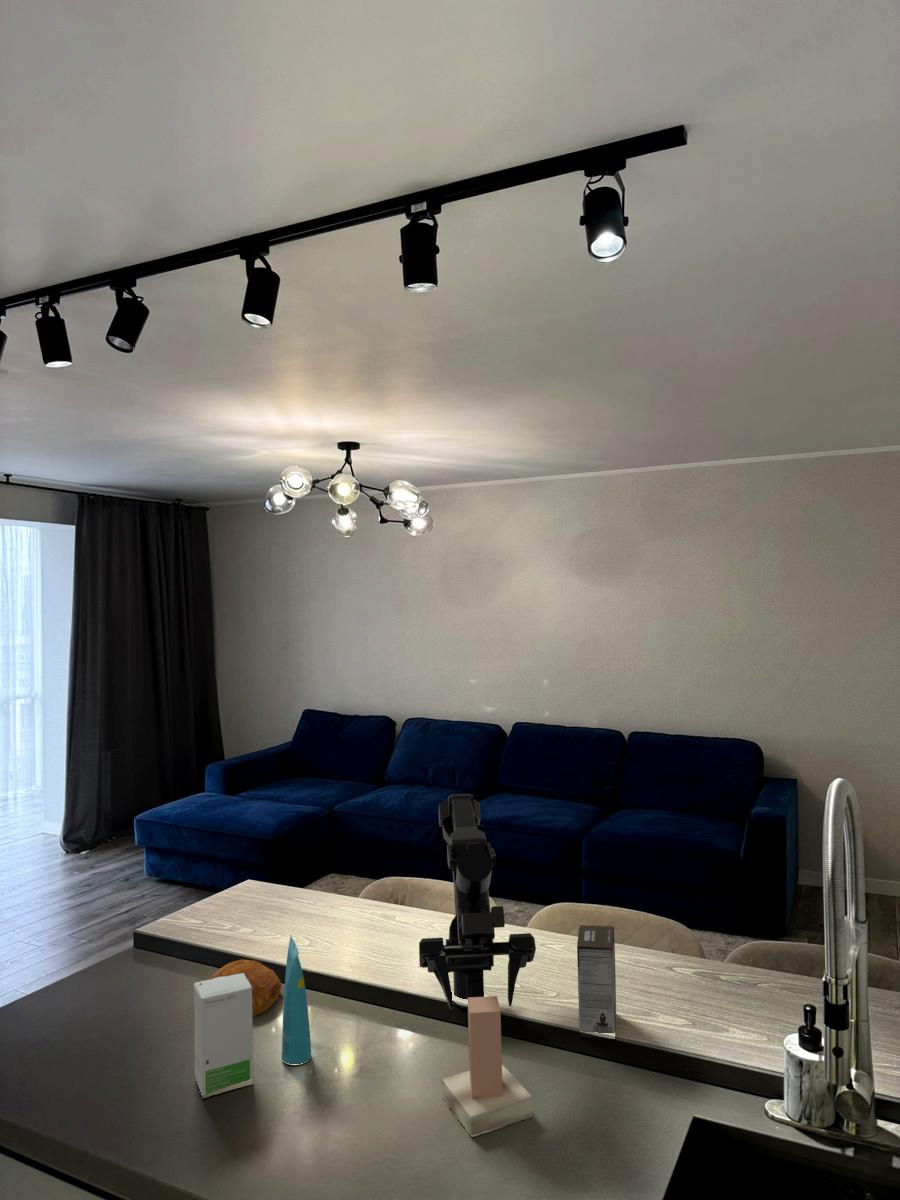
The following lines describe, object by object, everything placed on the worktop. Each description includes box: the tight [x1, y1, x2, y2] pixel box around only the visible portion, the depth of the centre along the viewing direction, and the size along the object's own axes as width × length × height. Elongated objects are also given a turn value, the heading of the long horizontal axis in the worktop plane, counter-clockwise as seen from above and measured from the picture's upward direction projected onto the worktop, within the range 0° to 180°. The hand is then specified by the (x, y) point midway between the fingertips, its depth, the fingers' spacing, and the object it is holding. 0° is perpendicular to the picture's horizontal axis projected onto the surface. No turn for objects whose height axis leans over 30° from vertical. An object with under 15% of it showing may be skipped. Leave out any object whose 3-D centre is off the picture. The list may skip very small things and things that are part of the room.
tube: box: [281, 934, 312, 1064], centre depth 134 cm, size 7×5×19 cm, turn 26°
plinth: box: [441, 1064, 533, 1135], centre depth 120 cm, size 10×10×3 cm
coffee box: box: [576, 924, 617, 1033], centre depth 142 cm, size 9×6×16 cm
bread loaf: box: [206, 958, 282, 1018], centre depth 154 cm, size 14×16×8 cm
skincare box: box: [193, 973, 254, 1096], centre depth 129 cm, size 8×7×16 cm
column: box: [467, 995, 503, 1098], centre depth 120 cm, size 4×4×12 cm
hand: (480, 1006), depth 125 cm, fingers open, 9 cm apart
